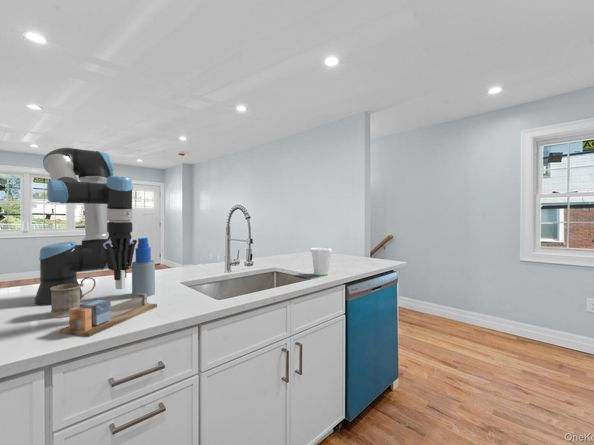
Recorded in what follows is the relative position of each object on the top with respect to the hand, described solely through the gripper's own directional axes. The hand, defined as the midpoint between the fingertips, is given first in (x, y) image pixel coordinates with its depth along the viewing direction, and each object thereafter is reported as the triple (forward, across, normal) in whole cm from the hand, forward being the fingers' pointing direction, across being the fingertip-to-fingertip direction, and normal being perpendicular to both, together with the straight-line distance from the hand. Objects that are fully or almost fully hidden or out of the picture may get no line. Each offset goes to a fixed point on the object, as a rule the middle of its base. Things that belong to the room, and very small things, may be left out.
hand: (120, 288), depth 103 cm
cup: (+10, +86, -57) cm, 104 cm away
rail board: (+9, -3, -1) cm, 10 cm away
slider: (+8, -10, -1) cm, 13 cm away
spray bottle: (+10, +24, +11) cm, 28 cm away
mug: (+10, -2, +19) cm, 22 cm away
